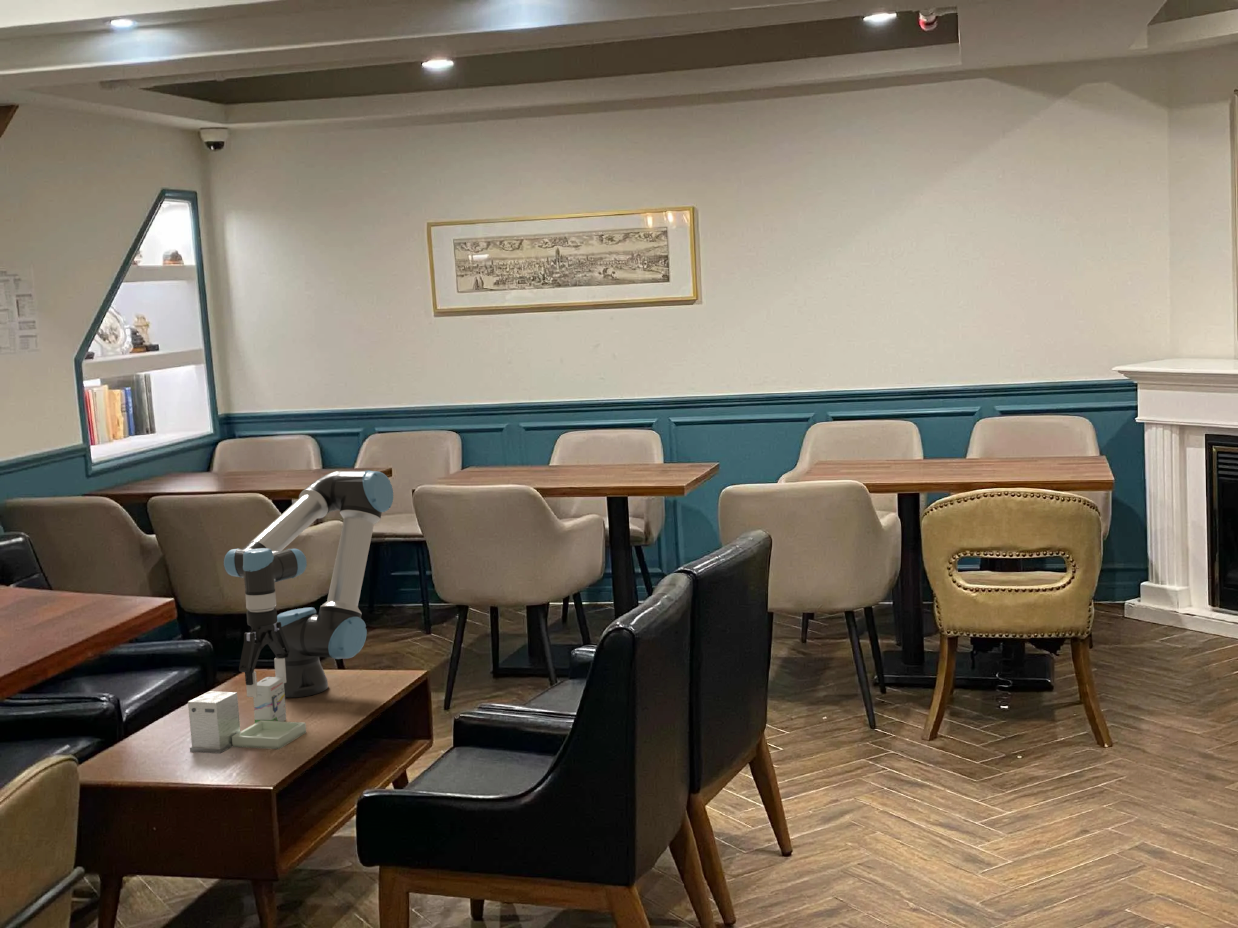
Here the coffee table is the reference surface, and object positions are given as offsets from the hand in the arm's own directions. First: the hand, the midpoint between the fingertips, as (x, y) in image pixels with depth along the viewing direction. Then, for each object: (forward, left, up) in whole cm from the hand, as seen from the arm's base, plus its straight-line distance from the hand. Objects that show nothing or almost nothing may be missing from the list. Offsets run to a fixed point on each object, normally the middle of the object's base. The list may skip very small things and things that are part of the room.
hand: (267, 689), depth 341 cm
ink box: (0, 0, -10) cm, 10 cm away
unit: (+17, -4, -10) cm, 20 cm away
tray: (+11, +7, -10) cm, 16 cm away
